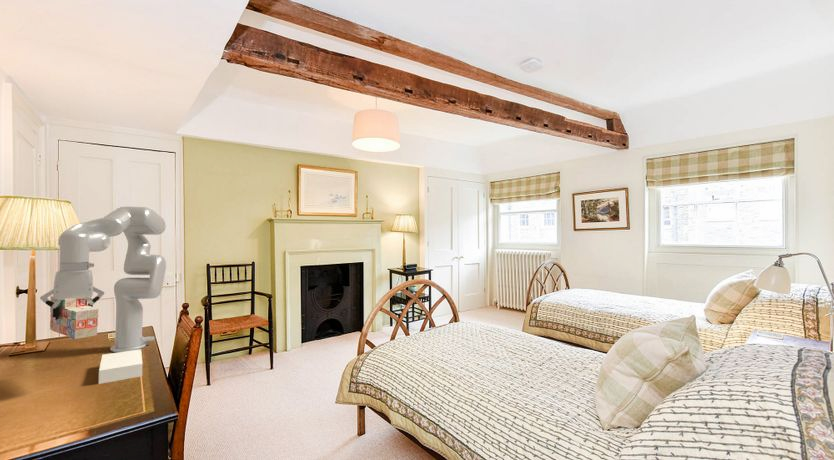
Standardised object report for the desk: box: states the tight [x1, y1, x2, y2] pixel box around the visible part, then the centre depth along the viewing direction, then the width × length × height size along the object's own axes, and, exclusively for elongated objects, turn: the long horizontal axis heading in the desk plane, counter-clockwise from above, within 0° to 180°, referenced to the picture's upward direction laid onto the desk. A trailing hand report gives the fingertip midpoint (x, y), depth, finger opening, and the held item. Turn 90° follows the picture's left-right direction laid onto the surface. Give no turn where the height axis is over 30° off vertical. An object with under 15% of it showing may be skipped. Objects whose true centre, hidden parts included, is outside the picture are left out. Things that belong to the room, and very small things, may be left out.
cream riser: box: [98, 348, 144, 385], centre depth 137 cm, size 12×20×5 cm, turn 39°
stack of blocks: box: [49, 295, 99, 340], centre depth 127 cm, size 21×6×12 cm, turn 61°
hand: (73, 317), depth 128 cm, fingers closed on stack of blocks, 7 cm apart
